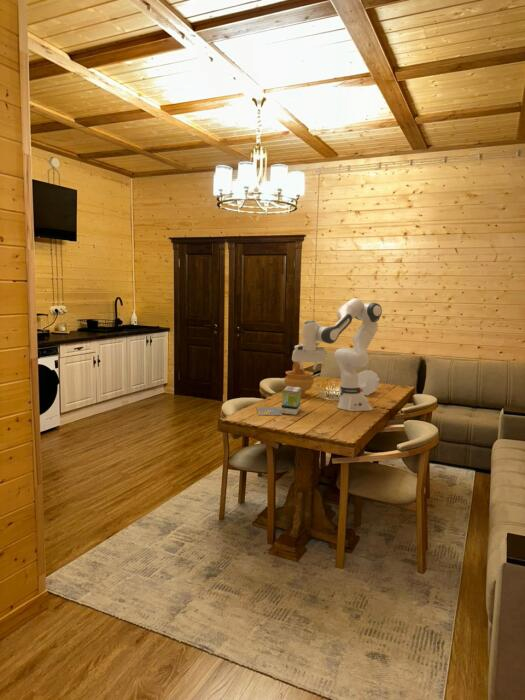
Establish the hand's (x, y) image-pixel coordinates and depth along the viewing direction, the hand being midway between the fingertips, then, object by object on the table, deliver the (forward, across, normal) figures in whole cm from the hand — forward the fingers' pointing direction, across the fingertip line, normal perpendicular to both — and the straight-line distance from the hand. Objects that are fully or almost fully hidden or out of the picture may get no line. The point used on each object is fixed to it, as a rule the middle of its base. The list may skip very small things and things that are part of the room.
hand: (307, 369), depth 298 cm
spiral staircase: (+27, -55, -58) cm, 84 cm away
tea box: (+27, +10, 0) cm, 29 cm away
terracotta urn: (+27, -2, -47) cm, 54 cm away
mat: (+27, +23, 0) cm, 36 cm away
